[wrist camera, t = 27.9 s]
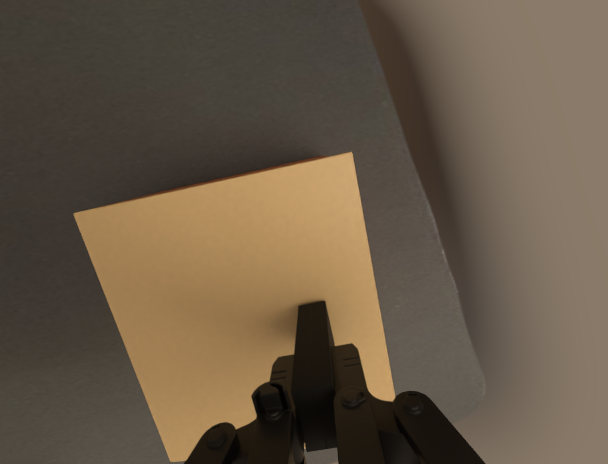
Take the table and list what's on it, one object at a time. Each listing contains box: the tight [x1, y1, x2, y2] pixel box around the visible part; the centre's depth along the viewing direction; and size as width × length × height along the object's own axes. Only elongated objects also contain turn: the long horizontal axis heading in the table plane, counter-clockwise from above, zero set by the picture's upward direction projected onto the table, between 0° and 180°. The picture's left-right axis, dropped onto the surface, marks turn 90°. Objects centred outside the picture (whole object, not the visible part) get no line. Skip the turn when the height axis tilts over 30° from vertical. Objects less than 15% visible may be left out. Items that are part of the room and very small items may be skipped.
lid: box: [74, 152, 395, 462], centre depth 19 cm, size 16×18×1 cm
